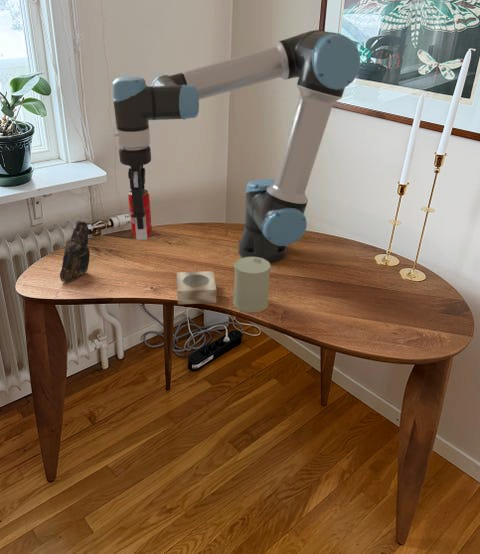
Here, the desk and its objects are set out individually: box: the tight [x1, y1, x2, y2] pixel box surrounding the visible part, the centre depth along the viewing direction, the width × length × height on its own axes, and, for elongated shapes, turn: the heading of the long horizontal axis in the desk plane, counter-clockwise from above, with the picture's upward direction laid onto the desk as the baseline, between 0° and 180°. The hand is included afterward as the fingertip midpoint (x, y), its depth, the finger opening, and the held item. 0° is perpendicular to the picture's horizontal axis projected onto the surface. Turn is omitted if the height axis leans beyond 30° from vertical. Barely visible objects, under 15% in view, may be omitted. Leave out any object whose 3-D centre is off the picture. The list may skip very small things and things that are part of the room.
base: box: [176, 270, 217, 305], centre depth 139 cm, size 10×10×4 cm
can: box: [233, 257, 271, 314], centre depth 134 cm, size 9×9×12 cm
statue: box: [59, 220, 91, 283], centre depth 144 cm, size 6×12×15 cm, turn 155°
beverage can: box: [127, 188, 153, 239], centre depth 134 cm, size 5×5×12 cm
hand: (142, 234), depth 136 cm, fingers closed on beverage can, 5 cm apart
